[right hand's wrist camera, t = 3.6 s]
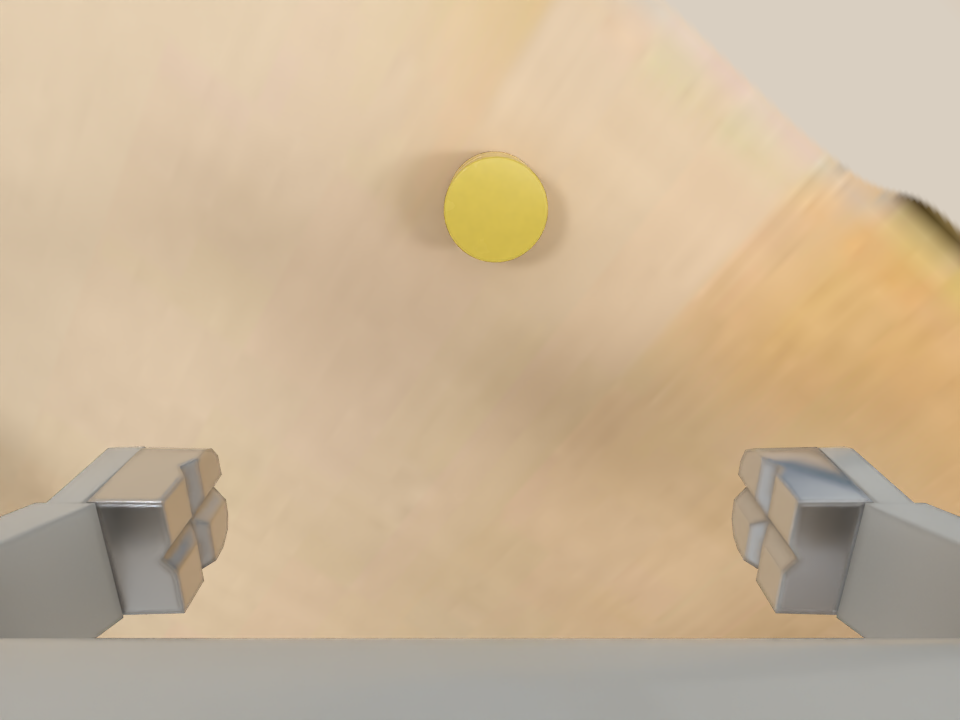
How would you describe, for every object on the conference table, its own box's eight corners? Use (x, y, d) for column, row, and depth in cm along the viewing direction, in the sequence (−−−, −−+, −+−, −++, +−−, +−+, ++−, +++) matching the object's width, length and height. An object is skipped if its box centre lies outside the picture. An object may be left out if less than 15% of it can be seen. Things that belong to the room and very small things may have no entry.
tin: (530, 141, 32) (537, 145, 28) (547, 234, 33) (556, 250, 29) (438, 163, 32) (432, 170, 28) (459, 254, 34) (457, 272, 30)
